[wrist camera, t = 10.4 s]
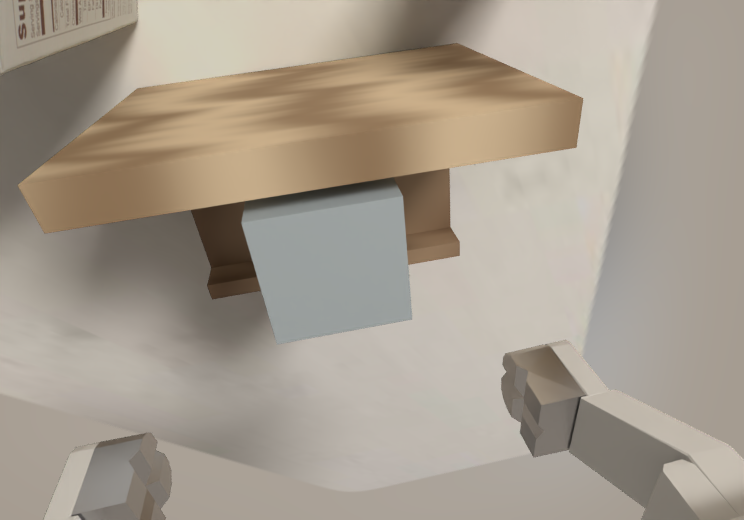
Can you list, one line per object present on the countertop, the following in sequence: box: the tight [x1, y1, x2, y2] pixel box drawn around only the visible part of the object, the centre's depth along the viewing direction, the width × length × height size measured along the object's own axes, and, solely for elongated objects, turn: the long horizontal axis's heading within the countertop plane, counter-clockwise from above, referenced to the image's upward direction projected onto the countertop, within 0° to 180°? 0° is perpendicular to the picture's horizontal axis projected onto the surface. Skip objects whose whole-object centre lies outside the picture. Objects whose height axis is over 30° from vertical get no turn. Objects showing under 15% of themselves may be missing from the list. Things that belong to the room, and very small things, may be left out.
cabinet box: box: [241, 177, 412, 344], centre depth 19 cm, size 5×6×7 cm
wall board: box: [18, 43, 583, 299], centre depth 20 cm, size 16×8×12 cm, turn 96°
